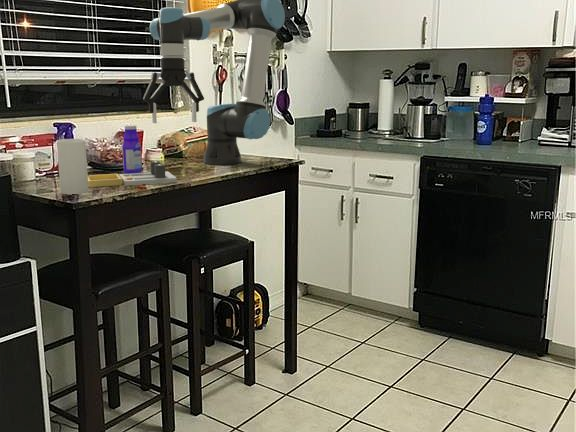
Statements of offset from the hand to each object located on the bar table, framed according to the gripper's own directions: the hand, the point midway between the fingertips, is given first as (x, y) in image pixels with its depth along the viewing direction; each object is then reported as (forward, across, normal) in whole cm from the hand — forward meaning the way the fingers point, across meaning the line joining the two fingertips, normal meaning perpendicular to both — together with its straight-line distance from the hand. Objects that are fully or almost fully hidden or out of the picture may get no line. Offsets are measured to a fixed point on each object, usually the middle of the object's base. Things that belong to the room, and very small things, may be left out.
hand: (174, 122), depth 210 cm
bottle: (+20, +11, -17) cm, 29 cm away
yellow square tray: (+20, +24, -3) cm, 31 cm away
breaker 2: (+18, +6, +2) cm, 19 cm away
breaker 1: (+18, +6, -5) cm, 19 cm away
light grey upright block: (+20, +34, +9) cm, 41 cm away
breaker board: (+20, +10, -2) cm, 22 cm away
